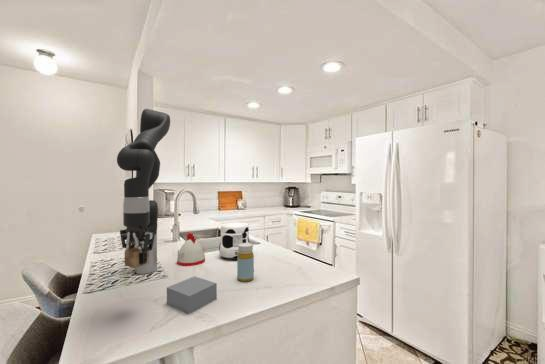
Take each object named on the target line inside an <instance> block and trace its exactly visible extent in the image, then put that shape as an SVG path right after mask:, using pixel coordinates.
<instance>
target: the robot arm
mask: <svg viewBox="0 0 545 364" xmlns="http://www.w3.org/2000/svg"><path fill="white" fill-rule="evenodd" d="M170 126H171V117H170V115H169V114H168V113H165V112H162V111H158V110H153V109H149V108H145V109H143V110H142V112H141V115H140V126H139V134H137V136H136V137H135V139H134V140H133V141H132V142H130V143H129V144H127V145H125V146H124V147H123V148H121V149H120V150H119V152H118V154H117V156H116V164H117V166H118V167H119V169H121V170H123V171H125V172H127V171H128V172H133V171H134V172H135V177H131V178H126V179H125V180H124V182H123V183H124V184H123V192H124V193H123V196H124V197H123V202H122V204H123V206H122V209H123V210H122V212H123V213H122V214H123V216H122V217H123V219H122V220H123V222H122V224H123V226H124V227H125V229H120V230H119V236H120V243H121V247H122V248H123V249H125V250H128V249H131V248H135V247H138V249H139V252H140V253H139V264H140V265H142V264H145V263H146V262H147V251H149V263H148V264H146V265H143V266H140V267H137V268H133V271H134V272H135V273H136V274H139V275H143V274H144V275H145V274H151V273H154V272H156V271H157V270H158V217H159V207H158V203H157V201H156V200H153V199H152V200H150V196H149V195H150V194H149V193H150V192H149V189H151V187H152V186H153V185H154V184H155V182H156V181H157V180H158V178H159V176H160V170H161V169H160V168H161V161H160V158H159V156H158V153H157V152H156V150H155V149H156V147H157V145H158V144H159V142H160V141H162V140H163V138H164V137H165V136H166V135H167V134H168V132H169V131H170ZM142 247H143V249H142Z"/></svg>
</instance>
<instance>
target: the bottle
mask: <svg viewBox="0 0 545 364" xmlns="http://www.w3.org/2000/svg"><path fill="white" fill-rule="evenodd" d="M253 246H254V245H253V243H251V242H249V243H241V244H239V245H238V255H237V259H236V261H237V272H236V273H237V277H236V278H237V280H238V281H239V282H241V283H248V282H251V281H253V280H254V278H255V276H254V275H255V274H254V273H255V271H254V270H255V268H254V263H255V262H254V260H255V256H254V251H253V248H254V247H253Z"/></svg>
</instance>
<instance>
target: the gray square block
mask: <svg viewBox="0 0 545 364" xmlns="http://www.w3.org/2000/svg"><path fill="white" fill-rule="evenodd" d="M217 284H218V283H216V282H215V281H210V280H207V279H204V278H201V277H197V276H192V277H190V278H187V279H184V280H182V281H180V282H177V283H174V284H172V285H170V286H167V287H166V305H169V306H170V307H173V308H175V309H178V310H180V311H182V312H185V313H186V314H188V315H190V314H191V313H194V312H195V311H197V310H200V308H203V307H204V306H206V305H208V304H211V303H212V302H214V301H216V300H217V299H218V298H217V295H218V293H217V291H218V290H217V288H218V287H217V286H218V285H217Z"/></svg>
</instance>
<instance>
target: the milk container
mask: <svg viewBox="0 0 545 364" xmlns="http://www.w3.org/2000/svg"><path fill="white" fill-rule="evenodd" d="M249 230H250V227H249V224H248V222H241V221H235V222H234V221H233V222H225V223H222V224H221V225H220V241H219V245H218V246H219V247H218V251H219V254H220V257H222V258H224V259H228V260H237V255H238V245H239V244H241V243H250V237H249V235H250V231H249Z"/></svg>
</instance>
